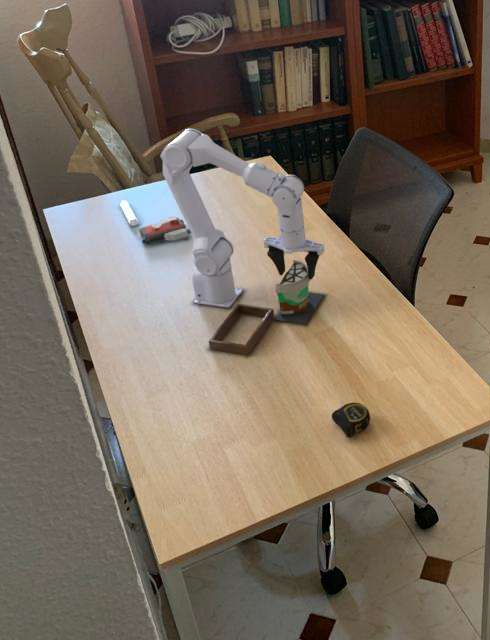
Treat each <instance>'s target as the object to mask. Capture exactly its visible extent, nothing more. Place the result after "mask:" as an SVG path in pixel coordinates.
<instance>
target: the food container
mask: <svg viewBox="0 0 490 640" xmlns="http://www.w3.org/2000/svg"><path fill="white" fill-rule="evenodd" d="M283 275H284V276H283V277H282V279H281V280H280V282H279V284H278V283H276V284H275V293H277V294H276V295H277V298H278V305H279V309H280V311H281V315H282V316H294V315H298V314H300V313H302V312H304V311H305V310H306V309H307V308H308V305H309V294H308V292H309V283H310V282H311V279H309V277H308V268H307V264H306V263H304V262H302V261H300V260H298V259H297V260H296V259H293V260H292V265H291V266H290V268H289V269H288V270H287V271H285V274H283Z"/></svg>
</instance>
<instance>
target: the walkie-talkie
mask: <svg viewBox="0 0 490 640" xmlns="http://www.w3.org/2000/svg"><path fill="white" fill-rule="evenodd" d="M138 230H139V235H140V238H141V239H142V240H141V243H142V244H143V245H154V244H157V243H161V242H164V241H177V240H180V239H183V238H188V237H189V235H190V234H192V233H191V231H190V229H189V228H187V223H185V222H184V220H183V219H180V218H179V217H176V216H171V217H168V218H163V219H161V220H160V221H158V222H157V223H156V222H155V223H151V224H150V225H149V224H148V225H146V226H142V227H140V228H139V229H138Z"/></svg>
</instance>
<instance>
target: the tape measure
mask: <svg viewBox="0 0 490 640" xmlns="http://www.w3.org/2000/svg"><path fill="white" fill-rule="evenodd" d="M331 419H332V422H334V423H335V424H336V425H337V426H338V427H339V429H341V431H342V432H343V433H344V435H345V436H346V438H348V439H350V438H352V437H354V436H355V434H361V433H363V432H364V431H366V429H367V428H368V426H370V421H371V414H370V410H369V409H368V408H367V407H366V406H365V404H362V403H360V402H348V403H346V404H344V405H342V406H341V407H340V408H338V409H336V410H334V411H333V412H332V413H331Z"/></svg>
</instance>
